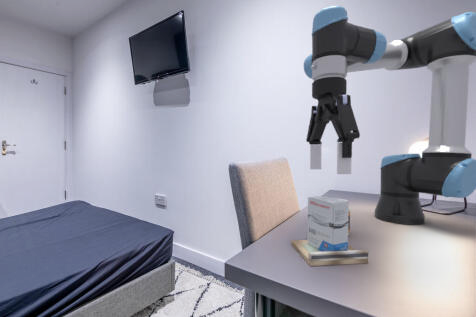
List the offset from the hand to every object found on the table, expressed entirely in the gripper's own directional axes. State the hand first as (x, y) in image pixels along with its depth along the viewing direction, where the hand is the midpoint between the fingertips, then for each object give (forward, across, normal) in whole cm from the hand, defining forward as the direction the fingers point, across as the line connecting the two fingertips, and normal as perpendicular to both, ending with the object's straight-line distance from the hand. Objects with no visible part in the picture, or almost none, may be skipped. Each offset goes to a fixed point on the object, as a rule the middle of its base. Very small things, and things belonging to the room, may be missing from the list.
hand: (328, 171), depth 57 cm
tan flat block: (+19, 0, 0) cm, 19 cm away
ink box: (+18, 0, 0) cm, 18 cm away
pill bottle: (+20, -13, +10) cm, 26 cm away
